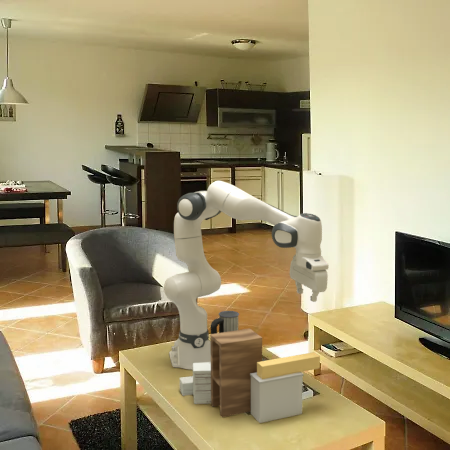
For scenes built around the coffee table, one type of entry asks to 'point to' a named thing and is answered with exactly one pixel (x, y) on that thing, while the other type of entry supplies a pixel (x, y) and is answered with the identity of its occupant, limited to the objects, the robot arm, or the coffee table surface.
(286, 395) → the grey box
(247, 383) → the walnut shelf
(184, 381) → the small box
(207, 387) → the white drawer cabinet
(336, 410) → the coffee table surface
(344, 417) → the coffee table surface
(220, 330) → the milk frother
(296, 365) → the ochre box
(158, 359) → the coffee table surface
